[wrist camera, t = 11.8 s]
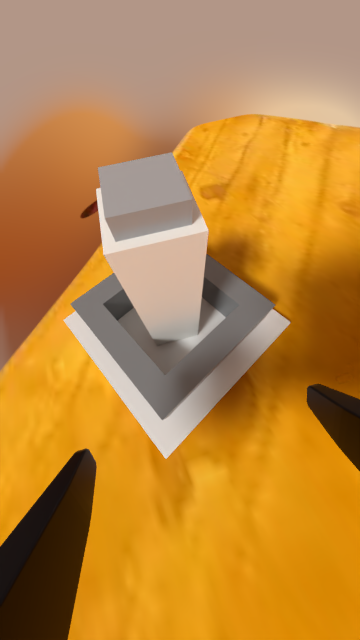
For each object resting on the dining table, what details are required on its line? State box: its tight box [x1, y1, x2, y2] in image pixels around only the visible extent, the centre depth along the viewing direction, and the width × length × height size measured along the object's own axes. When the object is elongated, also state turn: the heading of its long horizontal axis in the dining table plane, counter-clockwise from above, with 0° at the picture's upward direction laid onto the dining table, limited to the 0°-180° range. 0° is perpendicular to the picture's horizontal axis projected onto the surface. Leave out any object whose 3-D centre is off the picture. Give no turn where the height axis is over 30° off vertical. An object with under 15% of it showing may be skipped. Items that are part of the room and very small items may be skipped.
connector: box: [96, 153, 208, 346], centre depth 13 cm, size 4×4×13 cm
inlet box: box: [64, 254, 291, 459], centre depth 18 cm, size 16×16×4 cm
